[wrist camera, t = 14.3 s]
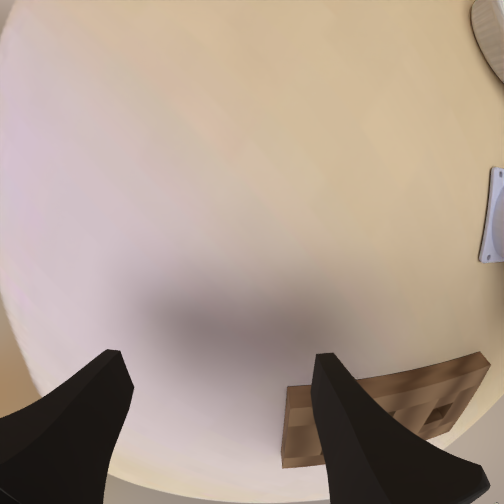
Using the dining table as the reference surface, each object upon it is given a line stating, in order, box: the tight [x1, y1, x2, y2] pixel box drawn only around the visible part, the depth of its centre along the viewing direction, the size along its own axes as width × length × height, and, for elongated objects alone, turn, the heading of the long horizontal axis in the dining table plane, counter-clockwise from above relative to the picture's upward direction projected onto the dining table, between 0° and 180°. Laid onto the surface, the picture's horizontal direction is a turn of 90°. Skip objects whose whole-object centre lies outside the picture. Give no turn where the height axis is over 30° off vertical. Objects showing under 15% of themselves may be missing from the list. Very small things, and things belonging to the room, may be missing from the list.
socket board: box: [281, 352, 491, 469], centre depth 23 cm, size 22×12×2 cm, turn 91°
